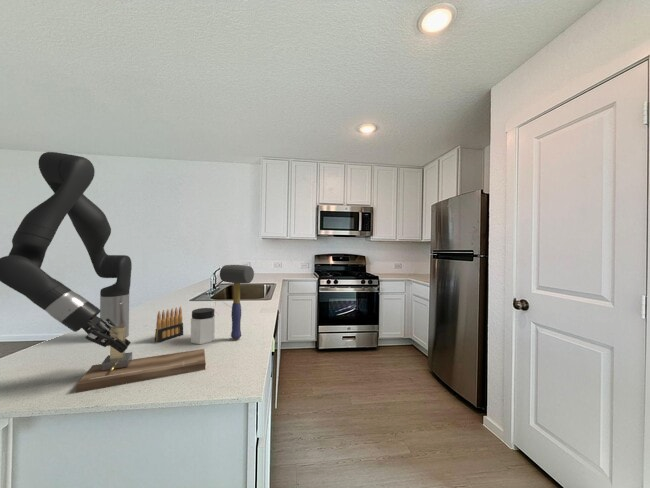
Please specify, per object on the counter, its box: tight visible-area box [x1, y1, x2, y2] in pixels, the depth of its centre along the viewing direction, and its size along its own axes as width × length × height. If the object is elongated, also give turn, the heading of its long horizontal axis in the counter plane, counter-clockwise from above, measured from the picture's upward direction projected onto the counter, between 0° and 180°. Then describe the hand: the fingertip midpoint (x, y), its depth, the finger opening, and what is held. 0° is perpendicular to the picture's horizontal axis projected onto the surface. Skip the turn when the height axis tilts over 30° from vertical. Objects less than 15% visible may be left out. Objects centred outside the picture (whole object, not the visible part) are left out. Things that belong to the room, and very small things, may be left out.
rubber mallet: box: [219, 264, 255, 341], centre depth 106 cm, size 12×8×30 cm, turn 70°
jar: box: [190, 307, 216, 345], centre depth 105 cm, size 9×8×12 cm
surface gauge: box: [101, 325, 133, 371], centre depth 77 cm, size 10×6×11 cm, turn 26°
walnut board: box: [75, 348, 207, 393], centre depth 79 cm, size 12×30×2 cm, turn 116°
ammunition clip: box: [154, 306, 184, 344], centre depth 107 cm, size 11×2×12 cm, turn 153°
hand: (126, 347), depth 79 cm, fingers closed on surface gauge, 3 cm apart
